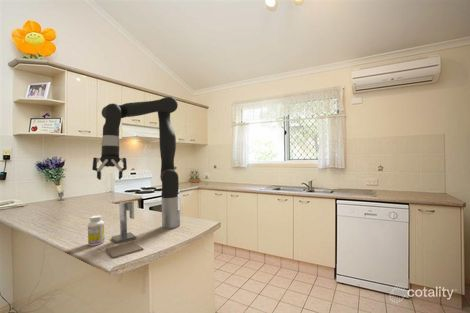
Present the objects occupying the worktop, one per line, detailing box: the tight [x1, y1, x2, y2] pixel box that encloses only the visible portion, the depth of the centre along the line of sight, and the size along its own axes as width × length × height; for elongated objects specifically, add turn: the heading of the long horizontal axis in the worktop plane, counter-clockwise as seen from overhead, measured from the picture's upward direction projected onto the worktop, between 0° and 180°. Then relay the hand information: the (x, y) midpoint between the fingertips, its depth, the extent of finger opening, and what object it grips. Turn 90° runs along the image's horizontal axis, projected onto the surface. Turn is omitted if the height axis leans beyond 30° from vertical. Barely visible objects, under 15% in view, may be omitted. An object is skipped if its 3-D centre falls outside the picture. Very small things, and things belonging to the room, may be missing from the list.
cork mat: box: [105, 240, 144, 259], centre depth 99 cm, size 12×12×1 cm
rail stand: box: [110, 200, 137, 244], centre depth 111 cm, size 9×16×20 cm, turn 42°
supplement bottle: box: [87, 214, 105, 247], centre depth 108 cm, size 7×7×13 cm
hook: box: [118, 200, 135, 221], centre depth 109 cm, size 5×4×8 cm
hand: (109, 179), depth 108 cm, fingers open, 8 cm apart
